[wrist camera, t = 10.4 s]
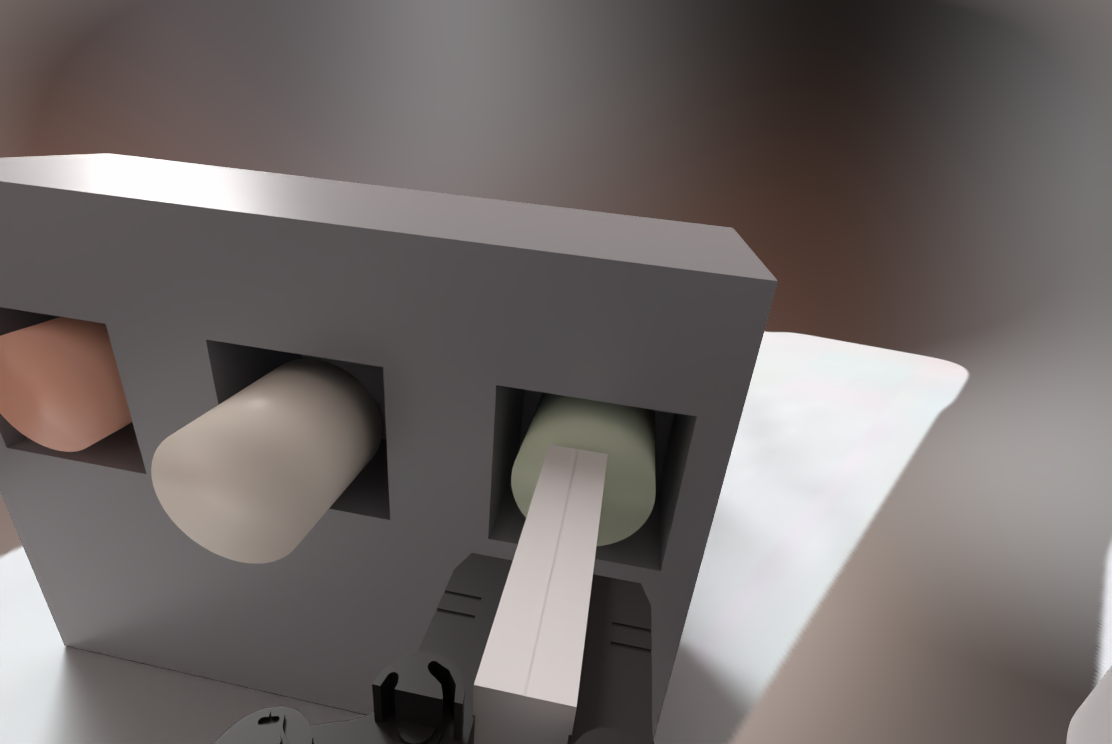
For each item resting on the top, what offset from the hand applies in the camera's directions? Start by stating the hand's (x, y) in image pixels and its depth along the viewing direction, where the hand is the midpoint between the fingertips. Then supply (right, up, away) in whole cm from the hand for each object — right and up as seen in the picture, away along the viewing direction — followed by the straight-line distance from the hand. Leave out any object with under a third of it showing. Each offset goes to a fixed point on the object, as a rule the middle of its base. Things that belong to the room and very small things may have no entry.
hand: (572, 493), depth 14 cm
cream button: (-8, -1, +1) cm, 8 cm away
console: (-8, -8, +9) cm, 15 cm away
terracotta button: (-15, +2, +4) cm, 16 cm away
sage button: (0, -1, +3) cm, 3 cm away
